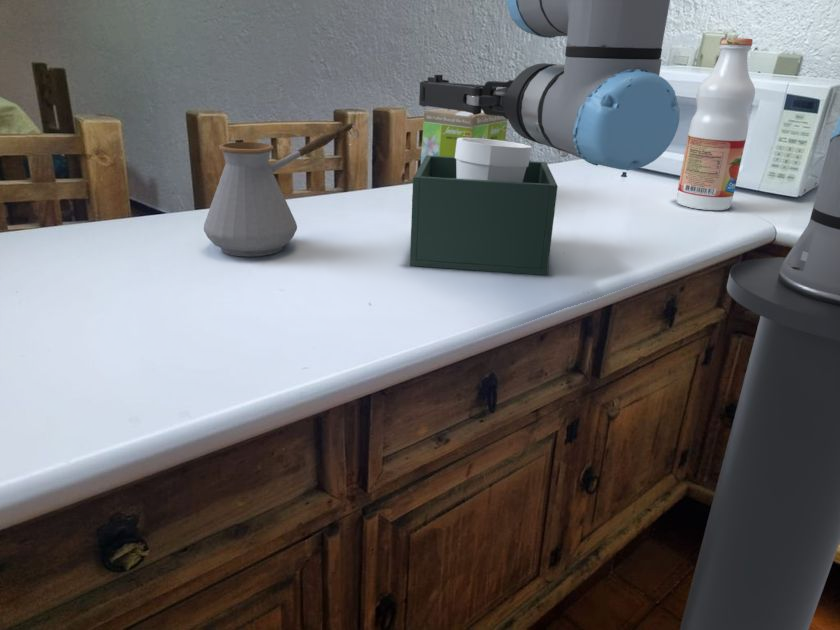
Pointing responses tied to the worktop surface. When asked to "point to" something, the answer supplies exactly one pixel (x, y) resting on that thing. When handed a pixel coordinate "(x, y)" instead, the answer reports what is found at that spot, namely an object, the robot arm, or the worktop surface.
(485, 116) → the tea box
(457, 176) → the foam cup
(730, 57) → the fruit juice
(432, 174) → the waste bin
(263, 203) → the coffee pot
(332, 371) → the worktop surface
